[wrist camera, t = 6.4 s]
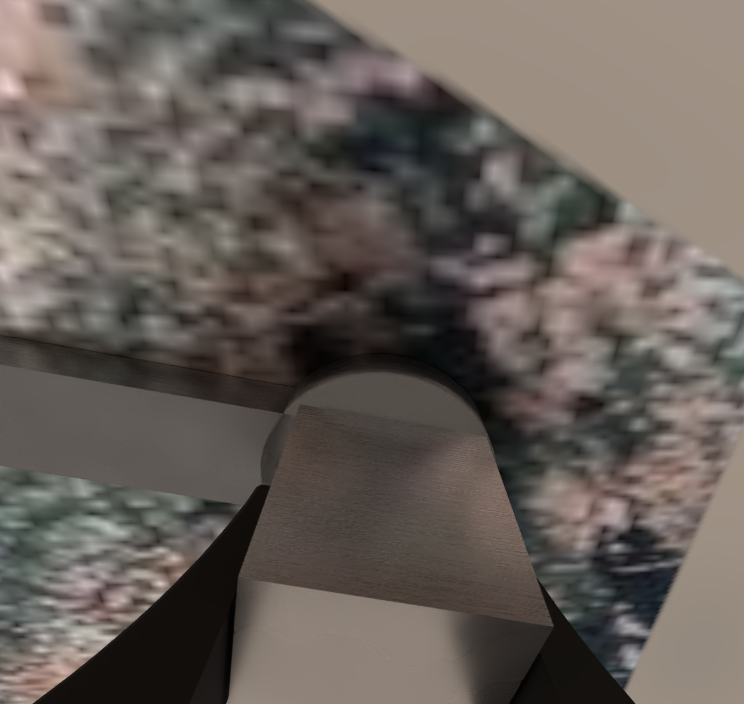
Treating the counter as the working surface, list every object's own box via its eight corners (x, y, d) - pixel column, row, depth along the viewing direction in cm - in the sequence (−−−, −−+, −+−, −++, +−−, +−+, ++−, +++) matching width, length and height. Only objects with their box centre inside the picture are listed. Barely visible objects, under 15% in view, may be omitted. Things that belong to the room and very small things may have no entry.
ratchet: (515, 376, 13) (576, 480, 9) (454, 541, 16) (478, 678, 11) (-34, 276, 12) (-255, 337, 8) (9, 469, 15) (-136, 587, 11)
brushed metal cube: (486, 436, 11) (553, 627, 7) (439, 565, 13) (466, 776, 9) (300, 404, 11) (238, 577, 6) (281, 539, 13) (225, 743, 9)
